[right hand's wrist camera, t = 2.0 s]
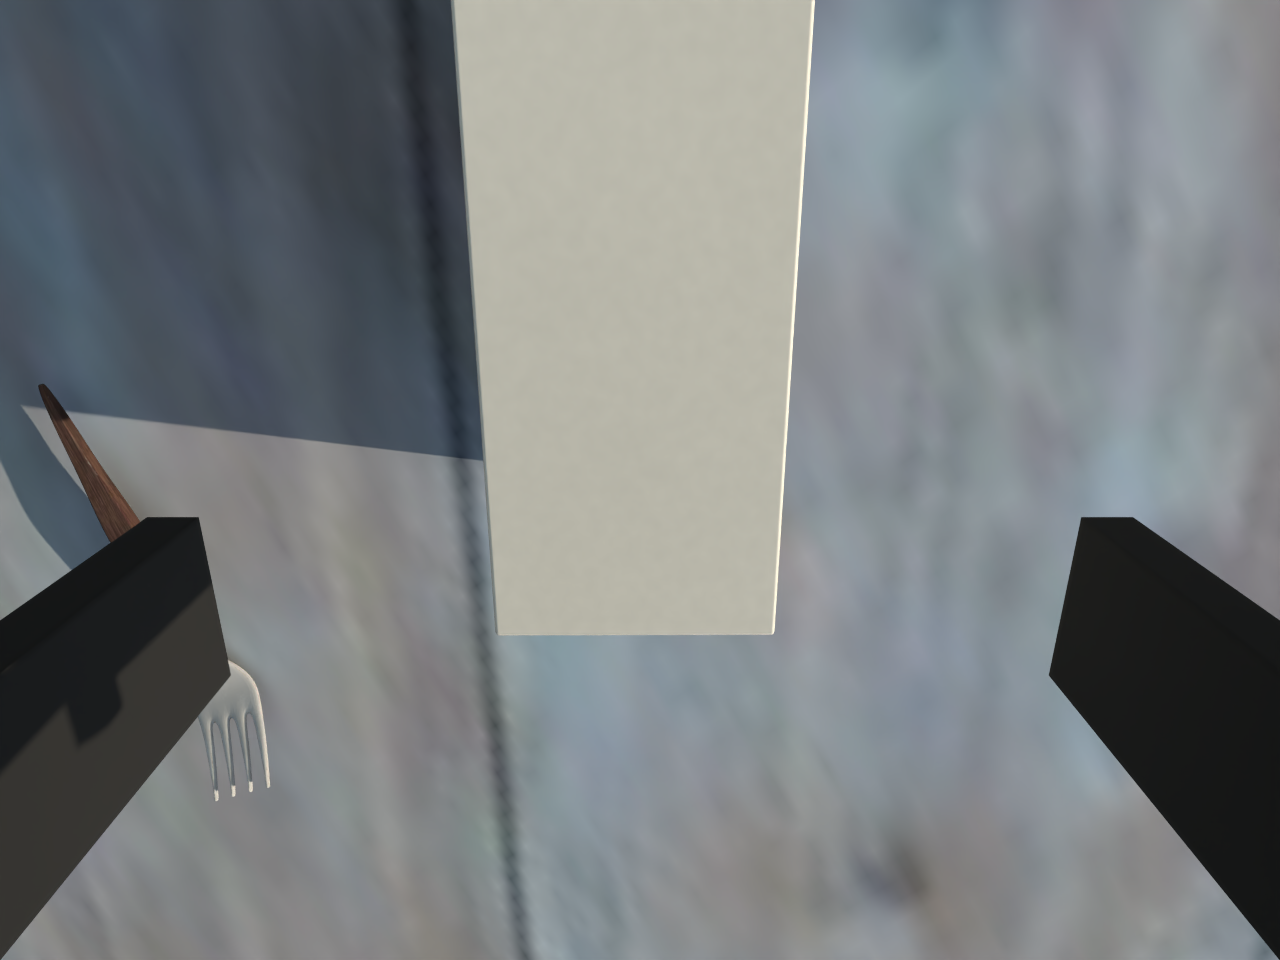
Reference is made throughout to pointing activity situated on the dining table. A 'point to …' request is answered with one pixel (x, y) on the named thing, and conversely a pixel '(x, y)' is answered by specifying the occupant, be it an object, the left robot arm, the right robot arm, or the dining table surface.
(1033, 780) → the dining table surface
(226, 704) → the fork
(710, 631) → the box
